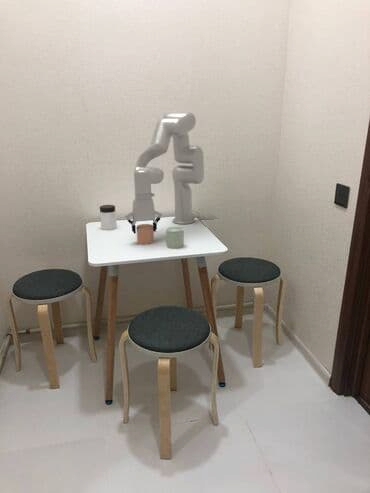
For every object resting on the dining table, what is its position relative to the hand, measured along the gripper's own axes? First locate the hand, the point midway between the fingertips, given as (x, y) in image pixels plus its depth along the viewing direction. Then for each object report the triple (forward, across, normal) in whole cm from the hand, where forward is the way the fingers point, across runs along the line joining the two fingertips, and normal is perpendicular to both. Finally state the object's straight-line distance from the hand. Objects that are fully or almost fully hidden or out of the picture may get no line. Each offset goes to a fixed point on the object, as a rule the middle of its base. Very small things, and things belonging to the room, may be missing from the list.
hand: (144, 232), depth 187 cm
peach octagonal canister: (+5, 0, 0) cm, 5 cm away
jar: (+5, +14, -31) cm, 35 cm away
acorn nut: (+5, -12, +10) cm, 16 cm away
